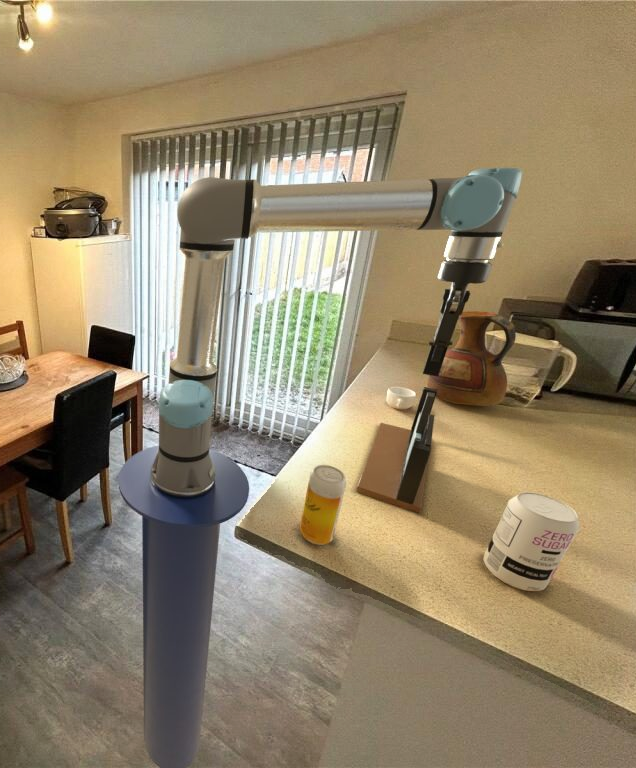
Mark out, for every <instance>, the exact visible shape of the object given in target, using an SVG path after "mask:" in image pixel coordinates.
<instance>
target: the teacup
mask: <svg viewBox="0 0 636 768" xmlns="http://www.w3.org/2000/svg"><path fill="white" fill-rule="evenodd" d="M416 397H417V393H416V392H415V391H414V390H412V389H410V388H406V387H402V386H391V387H389V388H388V389H387V393H386V403H387V404H388V406H389V407H391V408H393V409H396V410H407V409H410V408H411V407H412V406H413V404H414V403H415V400H416Z"/></svg>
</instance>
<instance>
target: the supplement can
mask: <svg viewBox="0 0 636 768" xmlns="http://www.w3.org/2000/svg"><path fill="white" fill-rule="evenodd" d="M578 519H579V515H578V513H577V512H576V511H575V510H574V508H572V507H570V505H568V504H567V503H565V502H563V501H561V500H559V499H557V498H554V497H551V496H549V495H547V494H543V493H537V492H532V491H531V492H530V491H524V492H520V493H518V494H517V495H515V496H514V497H512V498H510V499H509V500H508V501H507V504H506V507H505V509H504V511H503V513H502V514H501V517H500V520H499V522H498V524H497V526H496V528H495V531H494V533H493V536H492V537H491V539H490V541H489V543H488V546H487V547H486V550H485V552H484V554H483V562H484V564H485V566H486V568H487V569H488V571H489V572H491V574H492V575H493V576H494V577H496V578H497V579H498V580H500V581H501V582H503V583H505V584H506V585H509V586H510V587H512V588H515V589H518V590H522V591H529V592H538V591H544V589H545V588H547V586H548V585H549V583H550V581H551V579H553V578H552V577H553V576H554V575H555V572H556V571H557V569H558V567H559V566H560V564H561V562H562V560H563V558H564V556H565V555H566V553H567V552H568V550H569V548H570V546H571V544H572V542H573V541H574V539H575V538H576V536H577V534H578V532H579V531H580V523H579V520H578Z"/></svg>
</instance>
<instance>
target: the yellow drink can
mask: <svg viewBox="0 0 636 768" xmlns="http://www.w3.org/2000/svg"><path fill="white" fill-rule="evenodd" d="M346 487H347V480H346V475H345V473H344V471H342V470H340V468H337V467H335V466H333V465H327V464H318V465H316V466H314V467H313V469H312V470H311V471H310V473H309V477H308V482H307V488H306V492H305V498H304V503H303V508H302V513H301V518H300V523H299V532H300V534H301V535H302V536H303V538H304V539H305V540H306V541H308V542H309V543H311V544H314V545H317V546H318V545H319V546H323V545H327V544H329V543H331V542H332V541H333V539H334V535H335V533H336V532H335V531H336V527H337V524H338V520H339V514H340V511H341V507H342V504H343V503H342V502H343V499H344V496H345V495H344V494H345V491H346Z"/></svg>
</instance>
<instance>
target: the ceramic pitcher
mask: <svg viewBox="0 0 636 768" xmlns="http://www.w3.org/2000/svg"><path fill="white" fill-rule="evenodd" d="M458 321H459V323H460V333H459V334H460V335H459V338H458V341H457V343H456V345H454V347H452V348H451V349H449V350H448V349H447V352H446V355H445V358H444V361H443V364H442V367H441V370H440V373H439V376H438V377H437V376H432V375H428V377H427V387H428V388H433V389H438V390H437V395H436V398H437V399H439V400H441V401H442V400H443V401H446V402H450V403H452V404H458V405H459V404H460V405H465V406H484V407H487V406H494V405H498V404H500V403H501V402H502V401H503V400H504V398H505V396H506V394H507V388H508V377H507V373H506V371H505V368H504V365H503V363H502V360H503V359H504V357H505V356H506V355H507V353H508V352H509V351H510V350H511V348H512V347H513V345H514V344H515V341H516V333H517V332H516V328H515V325H514V323H513V322H511V321H510V320H509V319H508V318H507V317H505V316H502V315H500V314H499V313H497V312H493V311H491V312H489V311H478V310H476V311H473V310H472V311H468V310H467V311H463V312H462V314H461V315H459V318H458ZM491 323H492V324H493V323H494V324H495V325H497V326H499V327H500V328H501V329H502V330H503V331H504V332H503V333H504V334H505V343H504V346H503V347H502V349H501V350H500V352H498V353H496V354H494V353H493V352H491V351H490V350H489V349H487V347H486V343H485V341H486V340H485V337H486V331H487V328H488V327H489V325H490V324H491Z"/></svg>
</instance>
